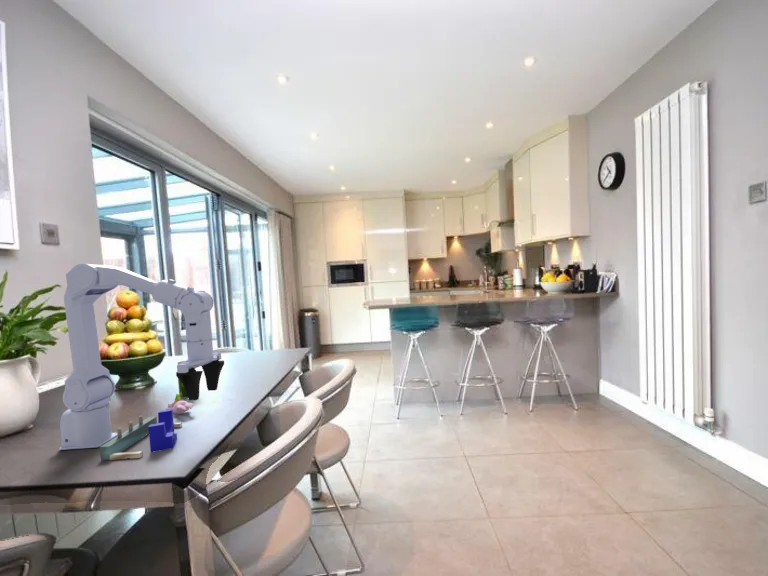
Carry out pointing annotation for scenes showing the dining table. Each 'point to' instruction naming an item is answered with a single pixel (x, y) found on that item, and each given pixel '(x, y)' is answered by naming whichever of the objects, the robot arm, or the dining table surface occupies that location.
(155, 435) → the cable clip
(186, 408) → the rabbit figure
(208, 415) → the dining table surface
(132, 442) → the pin bay
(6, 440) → the dining table surface
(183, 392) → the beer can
